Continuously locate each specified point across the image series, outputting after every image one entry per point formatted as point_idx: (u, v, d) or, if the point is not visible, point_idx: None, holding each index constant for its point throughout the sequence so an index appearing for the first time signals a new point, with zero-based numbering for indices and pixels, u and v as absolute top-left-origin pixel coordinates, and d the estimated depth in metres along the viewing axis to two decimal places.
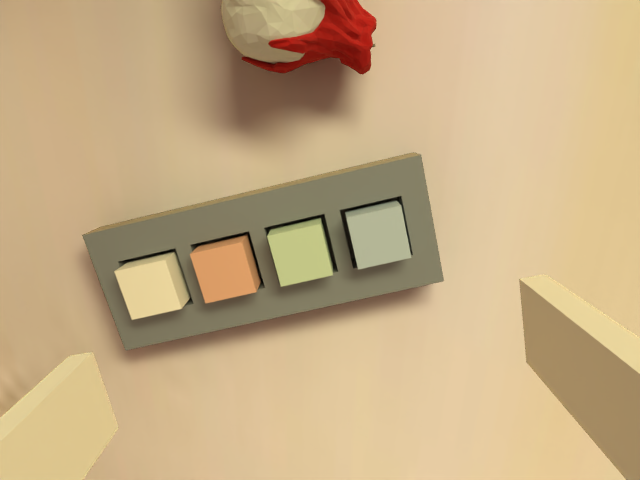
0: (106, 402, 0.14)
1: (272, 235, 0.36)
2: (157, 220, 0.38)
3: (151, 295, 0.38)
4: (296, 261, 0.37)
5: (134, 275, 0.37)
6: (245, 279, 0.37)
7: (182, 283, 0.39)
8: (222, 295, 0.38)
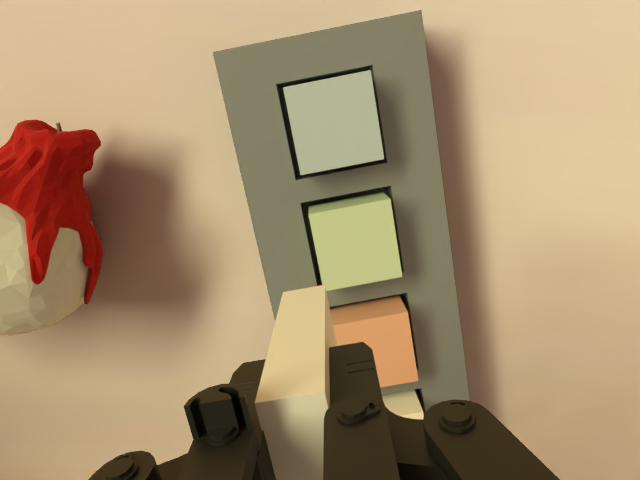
0: None
1: (323, 283, 0.25)
2: None
3: None
4: (365, 252, 0.25)
5: None
6: (387, 324, 0.26)
7: (391, 397, 0.29)
8: (408, 357, 0.26)
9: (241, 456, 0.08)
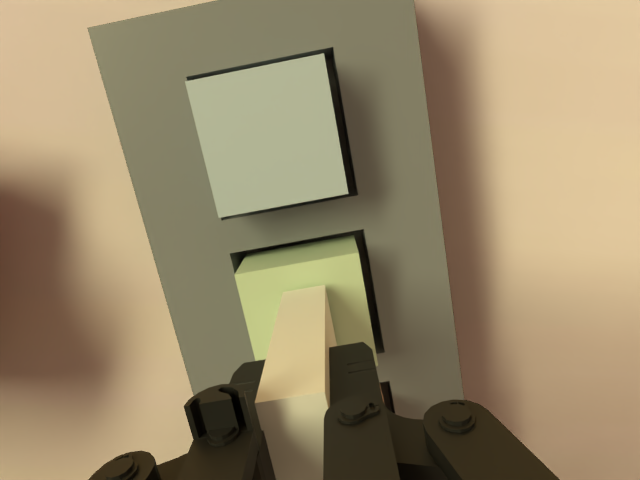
0: None
1: None
2: None
3: None
4: None
5: None
6: None
7: None
8: None
9: (241, 456, 0.08)
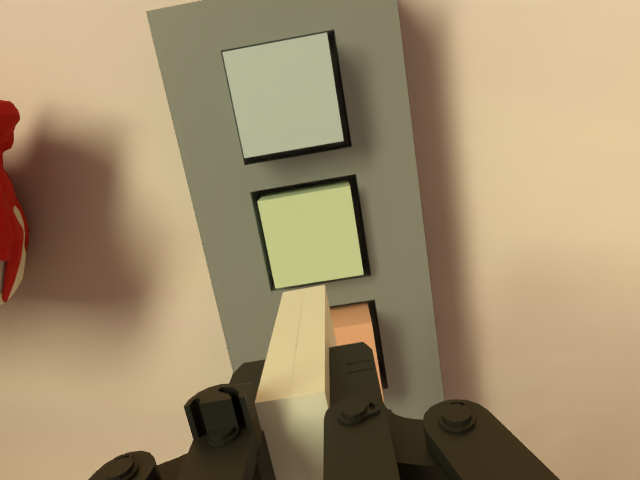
0: None
1: (274, 279, 0.22)
2: None
3: None
4: (321, 246, 0.22)
5: None
6: (347, 336, 0.22)
7: None
8: None
9: (241, 456, 0.08)
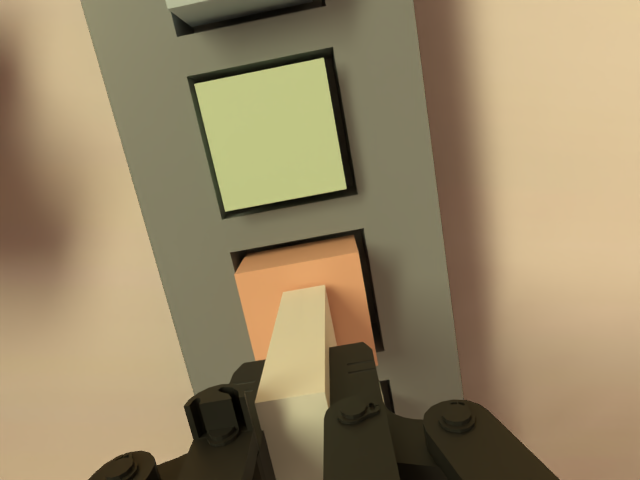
0: None
1: (224, 199, 0.16)
2: None
3: None
4: (286, 148, 0.16)
5: None
6: (325, 273, 0.16)
7: None
8: (361, 328, 0.16)
9: (241, 456, 0.08)
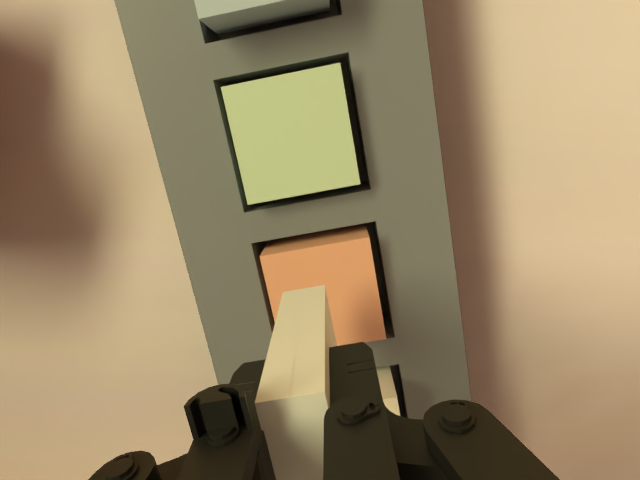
0: None
1: (246, 193, 0.17)
2: None
3: None
4: (305, 146, 0.17)
5: None
6: (340, 255, 0.18)
7: None
8: (371, 305, 0.18)
9: (241, 456, 0.08)
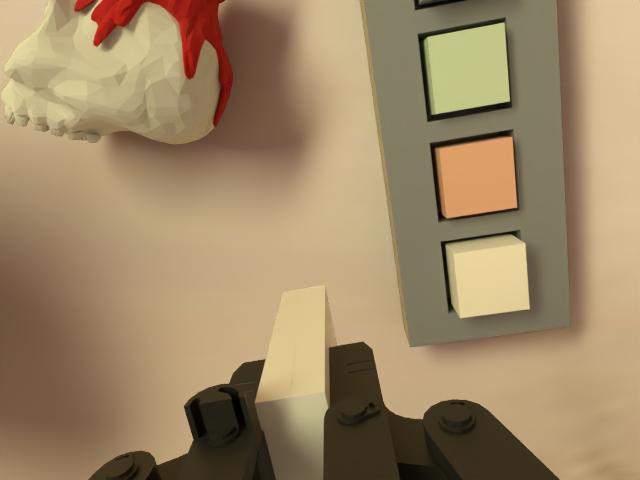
0: None
1: (435, 106, 0.27)
2: (402, 258, 0.31)
3: (500, 279, 0.29)
4: (476, 75, 0.27)
5: (469, 295, 0.29)
6: (492, 149, 0.28)
7: (490, 239, 0.30)
8: (509, 183, 0.28)
9: (241, 456, 0.08)
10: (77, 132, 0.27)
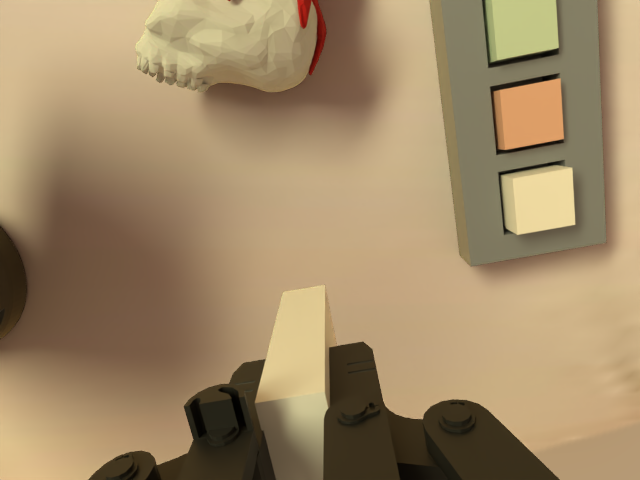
0: None
1: (497, 54, 0.33)
2: (465, 187, 0.36)
3: (551, 199, 0.34)
4: (531, 26, 0.32)
5: (525, 214, 0.35)
6: (543, 89, 0.33)
7: (539, 169, 0.36)
8: (557, 118, 0.34)
9: (241, 456, 0.08)
10: (199, 78, 0.31)
